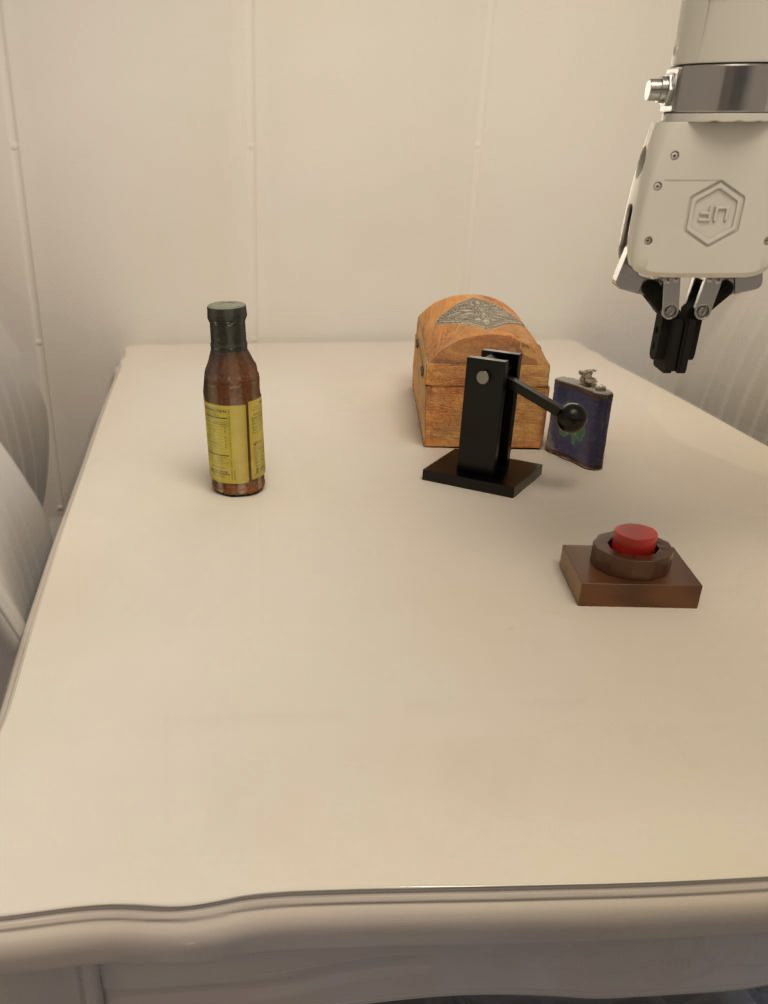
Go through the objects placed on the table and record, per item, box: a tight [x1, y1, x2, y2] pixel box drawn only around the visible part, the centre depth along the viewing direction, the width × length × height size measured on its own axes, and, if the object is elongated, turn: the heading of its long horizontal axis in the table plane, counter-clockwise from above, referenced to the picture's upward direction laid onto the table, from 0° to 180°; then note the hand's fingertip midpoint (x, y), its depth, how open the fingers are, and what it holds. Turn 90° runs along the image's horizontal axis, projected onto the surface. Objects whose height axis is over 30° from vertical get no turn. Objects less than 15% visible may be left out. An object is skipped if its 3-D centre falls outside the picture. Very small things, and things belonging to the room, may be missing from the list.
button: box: [611, 522, 659, 556], centre depth 79 cm, size 4×4×2 cm
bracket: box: [421, 349, 543, 499], centre depth 103 cm, size 11×9×14 cm
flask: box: [545, 368, 614, 471], centre depth 109 cm, size 9×3×11 cm, turn 24°
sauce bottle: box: [202, 300, 266, 496], centre depth 98 cm, size 7×6×20 cm
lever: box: [486, 354, 588, 434], centre depth 99 cm, size 13×3×3 cm, turn 57°
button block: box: [558, 530, 703, 609], centre depth 80 cm, size 10×8×4 cm
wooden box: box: [412, 294, 551, 449], centre depth 124 cm, size 30×16×14 cm, turn 175°
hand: (668, 368), depth 72 cm, fingers closed
